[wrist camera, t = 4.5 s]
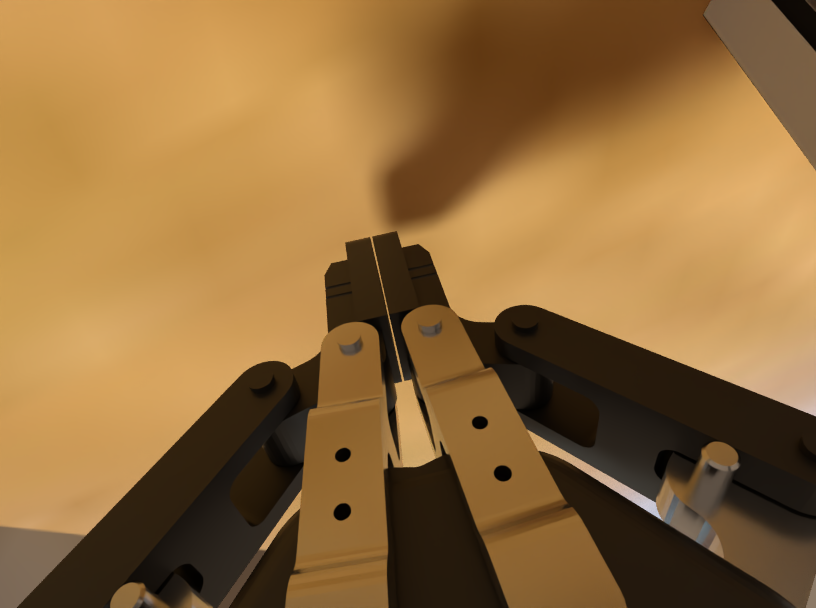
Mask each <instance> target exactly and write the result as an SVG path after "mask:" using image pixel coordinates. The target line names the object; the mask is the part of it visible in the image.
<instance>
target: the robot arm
mask: <svg viewBox="0 0 816 608" xmlns="http://www.w3.org/2000/svg"><path fill="white" fill-rule="evenodd" d="M372 238H373V242H374V247H375V252H376V256H377V261H378V265H379V270H380V275H381V279H382V284H383V288H384V293H385V297H386V302H387V307H388V311H389V316H390V320H391V324H392V329H393V333H394V337H395V342H396V346H397V350H398V355H399V359H400V364H401V368H402V372H403V377H404V381H406V380H411V379H412V382H413V386H414V390H415V395H416V399H417V404H418V407H419V410H420V413H421V416H422V419H423V422H424V425H425V428H426V431H427V434H428V437H429V440H430V443H431V446H432V449H433V452H434V455H435V458H436V459H434V460H432V461H430V462H428V463H426V464H424V465H422V466H419V467H403V460H402V450H401V440H400V429H399V419H398V409H397V405H396V400H397V395H396V389H395V384H394V383H398V382H402V379H401V375H400V370H399V365H398V361H397V356H396V351H395V347H394V342H393V337H392V333H391V328H390V323H389V319H388V314H387V309H386V305H385V300H384V295H383V291H382V286H381V282H380V278H379V273H378V269H377V265H376V261H375V256H374V252H373V248H372V243H371V239H370V237H368V238H364V239H359V240H355V241H350V242H346V243H345V244H346V252H347V259H348V260H345V261H340V262H335V263H331V265H330V266H329V268H328V270H327V272H326V274H325V288H326V290H325V291H326V307H327V323H328V334H327V335H326V336H325V338H324V339H323V342H322V345H321V351H320V353H319V354H317V355H316V356H315V357H314V358H312V359H311V360H309V361H307V362H305V363H303V364H301V365H299V366H297V367H295V368H293V369H291V368H290V367H289V366H288V365H287V364H285V363H283V362H279V361H268V362H263V363H260V364H257V365H255V366H253V367H251V368H249V369H248V370H246V371H245V372H244V373H243V374H242V375H241V376H240V377H239V378H238V379H237V380H236V381H235V382H234V383H233V384H232V385H231V386H230V387H229V388H228V389H227V390H226V391H225V392H224V393H223V394H222V395H221V396H220V397H219V398H218V399H217V400H216V402H215V403H214V404H213V405H212V406H211V407H210V408H209V409H208V410H207V411H206V412H205V413H204V414H203V415H202V416H201V417H200V418H199V419H198V420H197V421H196V422H195V423H194V424H193V425H192V426H191V427H190V428H189V430H188V431H187V432H186V433H185V434H184V435H183V436H182V437H181V438H180V439H179V440H178V441H177V442H176V443H175V444H174V445H173V446H172V447H171V448H170V449H169V450H168V451H167V452H166V453H165V454H164V455H163V456H162V458H161V459H160V460H159V461H158V462H157V463H156V464H155V465H154V466H153V467H152V468H151V469H150V470H149V471H148V472H147V473H146V474H145V475H144V476H143V477H142V478H141V479H140V480H139V481H138V482H137V483H136V484H135V485H134V487H133V488H132V489H131V490H130V491H129V492H128V493H127V494H126V495H125V496H124V497H123V498H122V499H121V500H120V501H119V502H118V503H117V504H116V505H115V506H114V507H113V508H112V509H111V510H110V511H109V512H108V513H107V515H106V516H105V517H104V518H103V519H102V520H101V521H100V522H99V523H98V524H97V525H96V526H95V527H94V528H93V529H92V530H91V531H90V532H89V533H88V534H87V535H86V536H85V537H84V539H82V540H81V541H80V543H79V544H78V545H77V546H76V547H75V548H74V549H73V550H72V551H71V552H70V553H69V554H68V555H67V556H66V557H65V558H64V559H63V560H62V561H61V562H60V563H59V564H58V565H57V566H56V567H55V568H54V570H53V571H52V572H51V573H50V574H49V575H48V576H47V577H46V578H45V579H44V580H43V581H42V582H41V583H40V584H39V585H38V586H37V587H36V588H35V589H34V590H33V591H32V592H31V593H30V594H29V595H28V596H27V598H26V599H25V600H24V601H23V602H22V603H21V604H20V605H19V606H18V607H17V608H218V606H219V605H220V603H221V602H222V601H223V599H224V598H225V596H226V595H227V594H228V592H229V591H230V589H231V588H232V586H233V585H234V584H235V582H236V581H237V579H238V578H239V577H240V575H241V574H242V572H243V571H244V570H245V568H246V567H247V565H248V564H249V562H250V561H251V559H252V558H253V557H254V555H255V554H256V553H257V551H258V550H259V548H260V547H261V546H262V544H263V543H264V541H265V540H266V538H267V537H268V536H269V534H270V533H271V531H272V530H273V529H274V527H275V526H276V524H277V523H278V522H279V520H280V519H281V517H282V516H283V514H284V513H285V512H286V510H287V509H288V507H289V506H290V505H291V503H292V502H293V500H294V499H295V498H296V496H297V495H298V493H299V492H300V490H301V489H302V493H301V505H300V509H299V510H298V511H297V512H296V513H295V514H294V515H293V516H292V517H291V518H290V519H289V520H288V521H287V522H286V524H285V525H284V526H283V527H282V528H281V530H280V531H279V532H278V534H277V535H276V537H275V538H274V540H273V541H272V543H271V544H270V546H269V547H268V549H267V550H266V552H265V553H264V555H263V556H262V558H261V560H260V561H259V563H258V564H257V566H256V567H255V569H254V570H253V572H252V573H251V575H250V576H249V578H248V579H247V581H246V583H245V584H244V586H243V587H242V588H241V590H240V592H239V593H238V595H237V596H236V598H235V599H234V601H233V602H232V604H231V605H230V607H229V608H806V605H807V601H808V598H809V595H810V591H811V588H812V585H813V581H814V578H815V574H816V416H813V415H811V414H808V413H806V412H803V411H801V410H798V409H796V408H793V407H791V406H788V405H786V404H783V403H780V402H778V401H775V400H773V399H770V398H768V397H765V396H763V395H760V394H758V393H755V392H753V391H750V390H748V389H745V388H742V387H740V386H737V385H735V384H732V383H730V382H727V381H725V380H722V379H720V378H717V377H715V376H712V375H710V374H707V373H705V372H702V371H699V370H697V369H694V368H692V367H689V366H687V365H684V364H682V363H679V362H677V361H674V360H672V359H669V358H667V357H664V356H661V355H659V354H656V353H654V352H651V351H649V350H646V349H644V348H641V347H639V346H636V345H634V344H631V343H629V342H626V341H623V340H621V339H618V338H616V337H613V336H611V335H608V334H606V333H603V332H601V331H598V330H596V329H593V328H591V327H588V326H586V325H583V324H580V323H578V322H575V321H573V320H570V319H568V318H565V317H563V316H560V315H558V314H555V313H553V312H550V311H548V310H545V309H542V308H540V307H537V306H532V305H518V306H513V307H510V308H508V309H506V310H504V311H502V312H501V313H500V314H499V315H498V316H497V318H496V320H495V322H473V321H468V320H465V319H463V318H460V317H459V316H457V314H456V313H455V312H454V311H453V310H452V309H451V308H450V306H449V304H448V301H447V298H446V296H445V293H444V290H443V288H442V285H441V282H440V280H439V277H438V274H437V272H436V269H435V266H434V264H433V261H432V259H431V256H430V253H429V252H428V251H427V250H425V249H424V248H423V247H421V246H420V245H419V244H417V245H412V246H408V247H403V248H402V247H401V244H400V240H399V237H398V234H397V231H395V232H391V233H386V234H382V235H377V236H372ZM527 430H529V431H531V432H533V433H535V434H536V435H538V436H540V437H542V438H543V439H545V440H547V441H549V442H550V443H552V444H554V445H556V446H557V447H559V448H561V449H563V450H564V451H566V452H568V453H570V454H571V455H573V456H575V457H577V458H579V459H580V460H582V461H584V462H586V463H587V464H589V465H591V466H593V467H594V468H596V469H598V470H600V471H601V472H603V473H605V474H607V475H608V476H610V477H612V478H614V479H615V480H617V481H619V482H621V483H622V484H624V485H626V486H628V487H630V488H631V489H633V490H635V491H637V492H638V493H640V494H642V495H644V496H645V497H647V498H649V499H651V500H652V501H654V502H656V505H657V510H658V512H659V515H660V517H661V518H662V520H663V521H662V520H660V519H659V518H657V517H656V516H654V515H652V514H651V513H649V512H648V511H646V510H644V509H643V508H641V507H640V506H638V505H636V504H635V503H633V502H631V501H630V500H628V499H627V498H625V497H623V496H622V495H620V494H619V493H617V492H615V491H614V490H612V489H611V488H609V487H607V486H606V485H604V484H602V483H601V482H599V481H598V480H596V479H594V478H593V477H591V476H590V475H588V474H586V473H585V472H583V471H582V470H580V469H578V468H577V467H575V466H573V465H572V464H570V463H568V462H567V461H565V460H562V459H560V458H558V457H556V456H554V455H551V454H548V453H545V452H541V451H538V450H537V448H536V446H535V444H534V442H533V440H532V439H531V437H530V435H529V433H528V431H527Z"/></svg>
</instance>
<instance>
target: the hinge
mask: <svg viewBox="0 0 816 608" xmlns="http://www.w3.org/2000/svg"><path fill="white" fill-rule="evenodd" d="M703 16H704V17H705V18H706V20H707V21H708V23H709V24H710V25H711V27H712V28H713V29H714V31H715V32H716V34H717V35H718V36H719V38H720V39H721V40H722V42H723V43H724V45H725V46H726V47H727V49H728V50H729V51H730V53H731V54H732V56H733V57H734V58H735V60H736V61H737V63H738V64H739V65H740V67H741V68H742V69H743V71H744V72H745V74H746V75H747V76H748V78H749V79H750V80H751V82H752V83H753V85H754V86H755V87H756V89H757V90H758V91H759V93H760V94H761V96H762V97H763V98H764V100H765V101H766V102H767V104H768V105H769V107H770V108H771V109H772V111H773V112H774V114H775V115H776V116H777V118H778V119H779V120H780V122H781V123H782V125H783V126H784V127H785V129H786V130H787V131H788V133H789V134H790V136H791V137H792V138H793V140H794V141H795V142H796V144H797V145H798V147H799V148H800V149H801V151H802V152H803V154H804V155H805V156H806V158H807V159H808V160H809V162H810V163H811V165H812V166H813V167H814V169H815V170H816V0H711V1H710V3H709V5H708V7H707V8H706V10H705V12H704V14H703Z"/></svg>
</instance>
